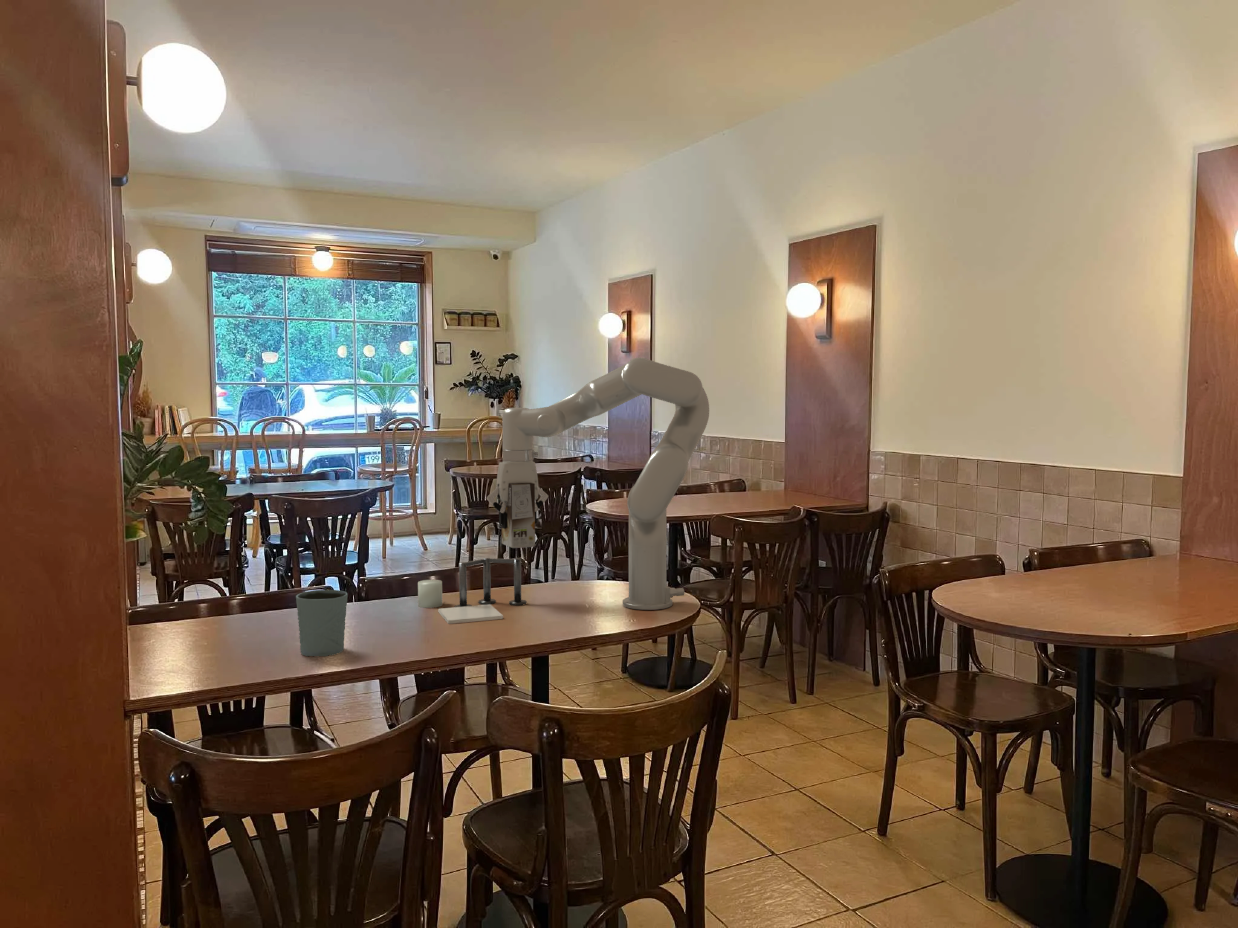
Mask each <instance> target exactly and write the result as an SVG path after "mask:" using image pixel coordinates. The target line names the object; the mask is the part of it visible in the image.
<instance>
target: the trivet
mask: <svg viewBox="0 0 1238 928" xmlns="http://www.w3.org/2000/svg"><path fill="white" fill-rule="evenodd" d="M437 611H438V613H439V615H440V616H441V617H442V618H443V619H444V620H445V622H446V623H447V624H448V625H451V624H462V623H471V622H472V623H473V622H484V621H485V622H486V621H494V620H503V619H504V615H503V614H502V613H501V612H500V611H499V610H498V609H496V608H495V606H493V604H491V605H490V604H489V605H481V604H479V605H472V606H465V607H445V608H443V607H442V608H438V610H437Z"/></svg>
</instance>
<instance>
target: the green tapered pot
mask: <svg viewBox="0 0 1238 928" xmlns="http://www.w3.org/2000/svg"><path fill="white" fill-rule="evenodd" d="M348 595H349V594H348V592H347V591H344V590H338V589H321V590H320V589H319V590H318V589H317V590H310V591H305V592H300V593H298V594H296V595H295V599H296V600H295V603H296V610H297V620H298V631H299V633H298V634H299V637H298V639H299V644H300V645H299V650H300V653H301V655H302V656H304V655H305V656H304V657H308V656H324V657H329V656H328V655H331V656H334V654H335V655H338V654H340V653H342V652H343V651H344V649H345V630H346V616H347V606H348ZM337 653H338V654H337Z"/></svg>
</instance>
